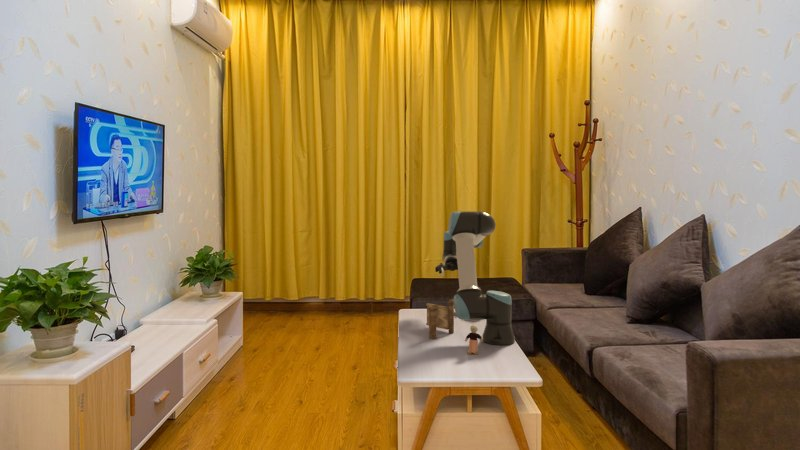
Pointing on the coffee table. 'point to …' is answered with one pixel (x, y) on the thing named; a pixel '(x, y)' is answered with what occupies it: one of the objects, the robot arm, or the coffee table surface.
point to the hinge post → (451, 316)
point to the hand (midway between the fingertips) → (456, 273)
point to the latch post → (432, 322)
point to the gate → (440, 316)
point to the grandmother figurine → (473, 340)
